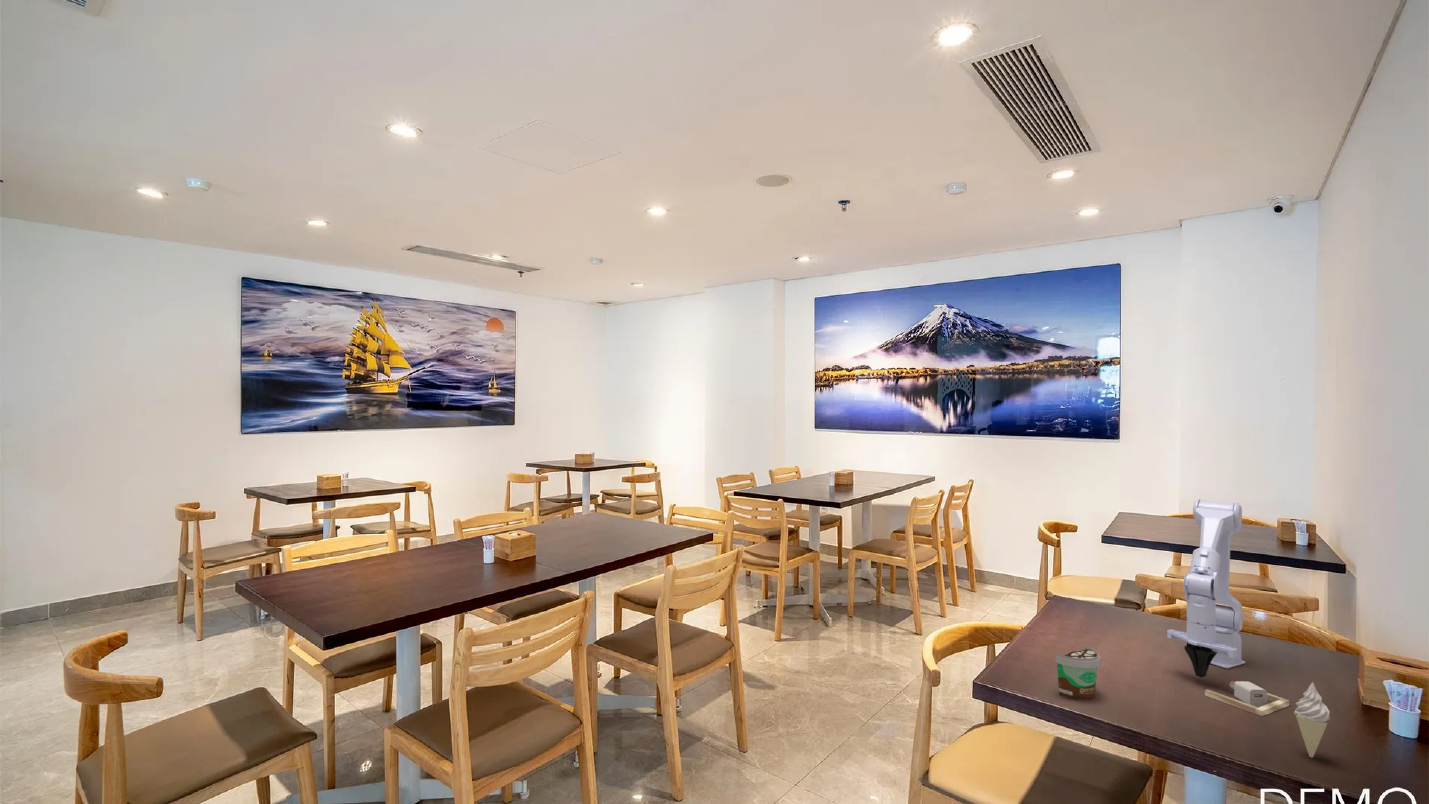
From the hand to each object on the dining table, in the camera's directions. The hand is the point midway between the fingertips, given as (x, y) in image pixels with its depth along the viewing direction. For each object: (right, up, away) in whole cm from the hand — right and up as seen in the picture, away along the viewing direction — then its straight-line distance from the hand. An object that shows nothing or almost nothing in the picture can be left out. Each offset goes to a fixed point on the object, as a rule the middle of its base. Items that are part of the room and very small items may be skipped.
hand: (1200, 675), depth 156 cm
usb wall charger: (+4, -2, -8) cm, 10 cm away
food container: (-34, -2, -7) cm, 35 cm away
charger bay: (+4, -2, -8) cm, 9 cm away
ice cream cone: (-4, -2, -33) cm, 33 cm away
